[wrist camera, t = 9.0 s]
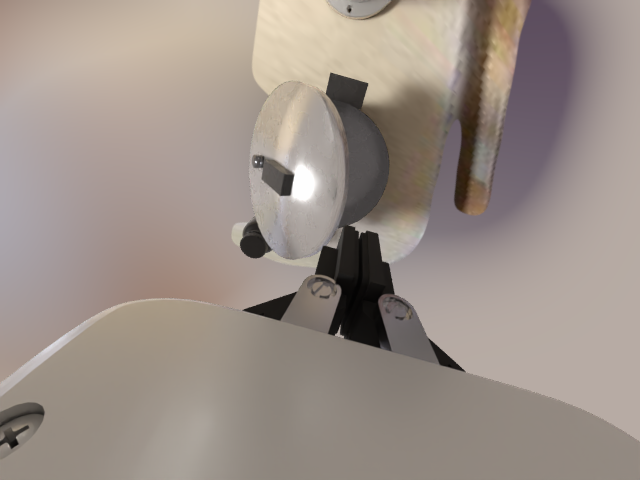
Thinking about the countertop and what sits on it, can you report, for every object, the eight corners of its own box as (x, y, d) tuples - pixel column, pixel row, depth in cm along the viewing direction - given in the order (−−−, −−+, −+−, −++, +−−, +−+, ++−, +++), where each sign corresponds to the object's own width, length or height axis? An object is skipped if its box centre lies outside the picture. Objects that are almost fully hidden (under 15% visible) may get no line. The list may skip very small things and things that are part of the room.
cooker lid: (269, 76, 30) (248, 69, 29) (379, 100, 18) (353, 91, 16) (252, 213, 39) (236, 214, 38) (318, 290, 27) (297, 296, 26)
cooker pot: (298, 70, 40) (277, 55, 29) (404, 101, 40) (421, 96, 29) (276, 202, 51) (254, 226, 41) (358, 226, 51) (358, 256, 40)
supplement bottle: (260, 234, 55) (237, 262, 45) (255, 205, 52) (229, 229, 42) (290, 234, 54) (273, 263, 44) (286, 205, 51) (267, 229, 41)
